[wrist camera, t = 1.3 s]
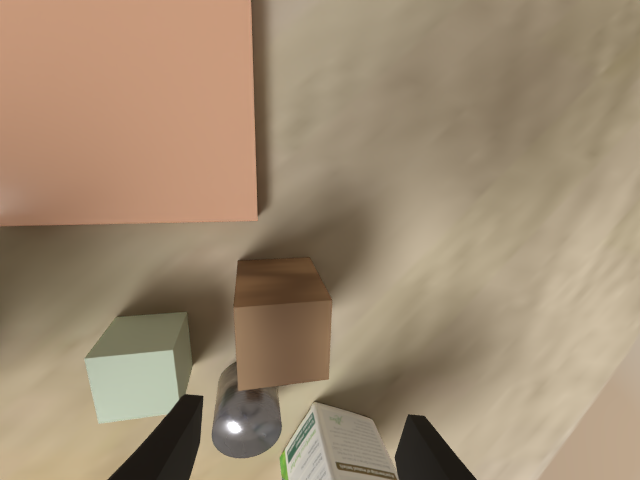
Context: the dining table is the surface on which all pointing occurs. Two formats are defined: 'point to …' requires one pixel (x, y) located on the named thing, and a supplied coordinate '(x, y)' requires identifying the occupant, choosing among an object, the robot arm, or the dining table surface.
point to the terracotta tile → (126, 112)
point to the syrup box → (336, 448)
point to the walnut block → (281, 323)
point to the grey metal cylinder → (245, 417)
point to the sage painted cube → (140, 366)
